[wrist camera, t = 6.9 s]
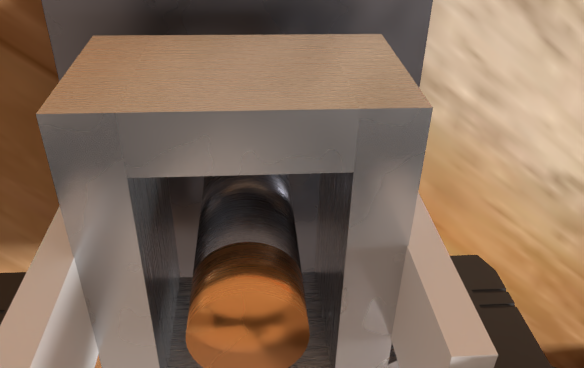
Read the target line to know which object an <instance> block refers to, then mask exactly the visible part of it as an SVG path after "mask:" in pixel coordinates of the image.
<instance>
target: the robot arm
mask: <svg viewBox="0 0 584 368" xmlns="http://www.w3.org/2000/svg"><path fill="white" fill-rule="evenodd" d="M514 304H515V303H514V301H513V300H512V298H511V296H510V295H509V293H508V292H506V288H505V286H504V284H503V283H502V281H501V279H500V277H499V276H498V274H497V272H496V271H495V270H494V269H493V268H492V267H491V266H490V265H488V264H487V263H486V262H485V261H484V260H483V259H481V258H480V257H479V256H478V255H462V256H449V254H448V252H447V250H446V248H445V246H444V244H443V242H442V240H441V237H440V235H439V233H438V231H437V229H436V227H435V225H434V223H433V221H432V219H431V217H430V215H429V213H428V211H427V209H426V207H425V205H424V203H423V201H422V199H421V197H420V195H419V193H418V195H417V201H416V207H415V212H414V218H413V224H412V230H411V235H410V241H409V246H407V250H406V255H405V261H404V267H403V273H402V278H401V284H400V290H399V296H398V301H397V307H396V313H395V319H394V324H393V330H392V336H391V340H392V344H393V347H394V351H395V354H396V357H397V361H398V364H399V368H555V367H552V366H551V364H550V363H549V362H548V360H547V358H546V356H545V355H544V353H543V351H542V350H541V348H540V346H539V344H538V343H537V341H536V339H535V338H534V336H533V334H532V332H531V331H530V329H529V327H528V326H527V324H526V322H525V320H524V319H523V317H522V315H521V313H520V312H519V310H518V308H517V307H515V305H514ZM98 353H99V352H98V348H97V344H96V340H95V336H94V333H93V329H92V325H91V321H90V317H89V313H88V309H87V306H86V302H85V298H84V294H83V290H82V286H81V282H80V278H79V275H78V271H77V267H76V263H75V259H74V257H73V255H72V251H71V247H70V243H69V240H68V236H67V232H66V228H65V224H64V220H63V217H62V213H61V209H60V206H59V208H58V210H57V212H56V214H55V216H54V218H53V220H52V222H51V224H50V226H49V228H48V230H47V232H46V234H45V236H44V238H43V240H42V242H41V244H40V246H39V248H38V250H37V252H36V254H35V256H34V258H33V260H32V262H31V264H30V266H29V268H28V270H27V272H19V273H0V368H95V364H96V361H97V357H98Z"/></svg>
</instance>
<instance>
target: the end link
mask: <svg viewBox="0 0 584 368" xmlns="http://www.w3.org/2000/svg"><path fill="white" fill-rule="evenodd" d="M432 109H433V107H432V106H431V104H430V103H429V101H428V100H427V99H426V97H425V96H424V94H423V93H422V91H421V90H420V88H419V87H418V86H417V84H416V83H415V81H414V80H413V78H412V77H411V76H410V74H409V73H408V71H407V70H406V68H405V67H404V66H403V64H402V63H401V61H400V60H399V58H398V57H397V55H396V54H395V53H394V51H393V50H392V48H391V47H390V45H389V44H388V43H387V41H386V40H385V38H384V37H383V35H382V34H295V35H116V36H92V38H91V39H90V40H89V42H88V43H87V44H86V46H85V47H84V49H83V50H82V51H81V53H80V54H79V55H78V57H77V58H76V60H75V61H74V62H73V64H72V65H71V66H70V68H69V69H68V70H67V72H66V73H65V75H64V76H63V77H62V79H61V80H60V81H59V83H58V84H57V86H56V87H55V88H54V90H53V91H52V92H51V94H50V95H49V97H48V98H47V99H46V101H45V102H44V103H43V105H42V106H41V107H40V109H39V110H38V112H37V113H36V117H37V121H38V125H39V129H40V132H41V136H42V140H43V144H44V148H45V152H46V155H47V159H48V163H49V167H50V171H51V175H52V178H53V182H54V186H55V190H56V194H57V198H58V201H59V205H60V209H61V213H62V217H63V220H64V224H65V228H66V232H67V236H68V240H69V243H70V247H71V251H72V255H73V257H74V259H75V263H76V267H77V271H78V275H79V278H80V282H81V286H82V290H83V294H84V298H85V302H86V306H87V309H88V313H89V317H90V321H91V325H92V329H93V333H94V336H95V340H96V344H97V348H98V352H99V353H98V355H99V358H100V362H101V366H102V368H203V367H202V366H201V365H199V364H198V363H197V362H196V361H195V360H194V359H193V357H192V356H191V354H190V353H189V351H188V348H187V345H186V328H187V320H188V311H189V303H190V294H191V286H192V277H180V271H179V263H178V254H177V246H176V238H175V230H174V222H173V214H172V206H171V198H170V190H169V182H168V177H192V176H231V175H271V174H311V173H320V185H319V203H318V221H317V239H316V257H315V272H307V273H302V278H303V286H304V293H305V301H306V308H307V316H308V323H309V332H310V337H309V343H308V346H307V348H306V350H305V352H304V353H303V355H302V356H301V357H300V358H299V359H298V360H297V361H296V362H295V363H294V364H293V365H291V366H290V367H288V368H387V367H388V361H389V356H390V350H391V344H392V340H391V336H392V330H393V324H394V319H395V313H396V307H397V301H398V296H399V290H400V284H401V278H402V273H403V267H404V261H405V255H406V250H407V246H409V241H410V235H411V230H412V224H413V218H414V212H415V207H416V201H417V195H418V190H419V184H420V178H421V172H422V167H423V161H424V155H425V150H426V144H427V138H428V132H429V127H430V121H431V115H432Z"/></svg>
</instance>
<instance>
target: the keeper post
mask: <svg viewBox="0 0 584 368" xmlns="http://www.w3.org/2000/svg"><path fill="white" fill-rule="evenodd" d="M41 1H42V5H43V10H44V15H45V19H46V24H47V28H48V33H49V37H50V42H51V46H52V51H53V55H54V60H55V64H56V69H57V73H58V78H59V81H60V80H61V79H62V77H63V76H64V75H65V73H66V72H67V70H68V69H69V68H70V66H71V65H72V64H73V62H74V61H75V60H76V58H77V57H78V55H79V54H80V53H81V51H82V50H83V49H84V47H85V46H86V44H87V43H88V42H89V40H90V39H91V38H92V36H116V35H295V34H382V35H383V37H384V38H385V40H386V41H387V43H388V44H389V45H390V47H391V48H392V50H393V51H394V53H395V54H396V55H397V57H398V58H399V60H400V61H401V63H402V64H403V66H404V67H405V68H406V70H407V71H408V73H409V74H410V76H411V77H412V78H413V80H414V81H415V83H416V84H417V86H418V87H419V86H420V80H421V73H422V67H423V60H424V54H425V47H426V41H427V34H428V28H429V21H430V15H431V8H432V2H433V0H41ZM168 182H169V190H170V198H171V206H172V214H173V222H174V230H175V238H176V246H177V254H178V263H179V271H180V277H192V286H191V294H190V303H189V311H188V320H187V328H186V345H187V348H188V351H189V353H190V354H191V356H192V357H193V359H194V360H195V361H196V362H197V363H198V364H199V365H201V366H202V367H203V368H288V367H290V366H291V365H293V364H294V363H295V362H296V361H297V360H298V359H299V358H300V357H301V356H302V355H303V353H304V352H305V350H306V348H307V346H308V343H309V337H310V332H309V323H308V316H307V308H306V301H305V293H304V286H303V278H302V273H307V272H315V257H316V239H317V221H318V203H319V185H320V173H311V174H271V175H231V176H192V177H168Z"/></svg>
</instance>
